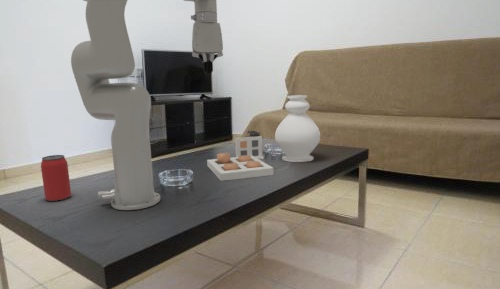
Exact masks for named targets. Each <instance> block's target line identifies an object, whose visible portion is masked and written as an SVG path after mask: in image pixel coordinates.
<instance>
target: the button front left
mask: <svg viewBox="0 0 500 289" xmlns="http://www.w3.org/2000/svg"><path fill="white" fill-rule="evenodd" d="M229 170H238V164H237V163H227V164H224V171H229Z"/></svg>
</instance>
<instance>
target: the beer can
mask: <svg viewBox="0 0 500 289" xmlns="http://www.w3.org/2000/svg"><path fill="white" fill-rule="evenodd" d="M65 157H66V156H65V155H64V154H55V155H54V154H53V155H47V156H43V157H41V159H42V160H41V163H40V168H41V169H40V170H41V177H42V184H43V191H44V200H46V201H48V202H59V201H58V200H60V201H64V200H67V199H68V198H70V197H71V196H72V189H71V188H72V187H71V182H70V180H71V179H70V175H69V166H68V161H67V159H66V158H65Z"/></svg>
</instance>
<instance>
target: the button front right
mask: <svg viewBox="0 0 500 289" xmlns="http://www.w3.org/2000/svg"><path fill="white" fill-rule="evenodd" d="M246 166H247V168H256V167H260V162H258V161H250V162H247V163H246Z"/></svg>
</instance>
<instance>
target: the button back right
mask: <svg viewBox="0 0 500 289" xmlns="http://www.w3.org/2000/svg"><path fill="white" fill-rule="evenodd" d="M246 161H251V156H249V155H242V156H238V162H246Z"/></svg>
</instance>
